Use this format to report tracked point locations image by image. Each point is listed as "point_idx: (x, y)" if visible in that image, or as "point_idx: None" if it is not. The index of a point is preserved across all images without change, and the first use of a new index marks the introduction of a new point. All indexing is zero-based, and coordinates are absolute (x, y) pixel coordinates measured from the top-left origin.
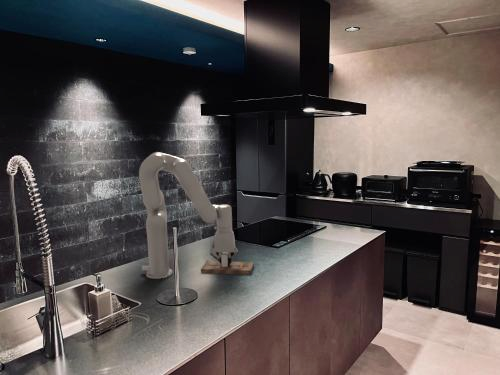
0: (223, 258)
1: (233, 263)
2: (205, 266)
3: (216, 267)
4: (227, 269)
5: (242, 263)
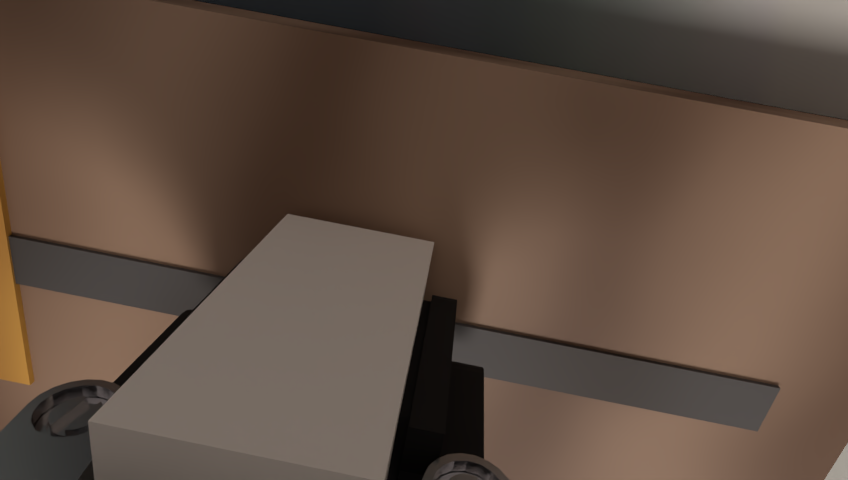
0: (326, 359)
1: None
2: (841, 328)
3: (565, 232)
4: (274, 55)
5: (12, 375)
